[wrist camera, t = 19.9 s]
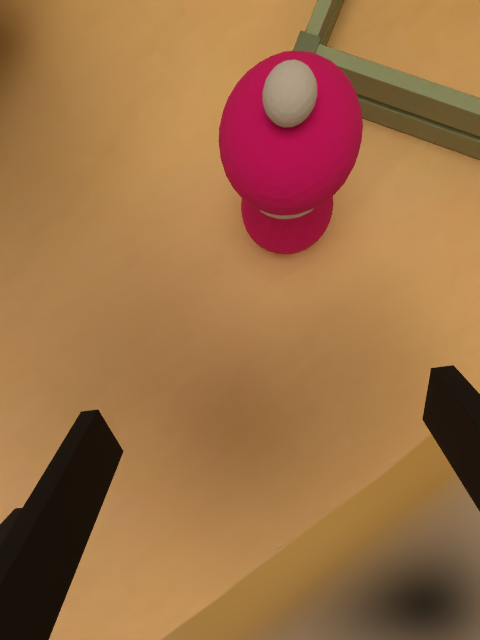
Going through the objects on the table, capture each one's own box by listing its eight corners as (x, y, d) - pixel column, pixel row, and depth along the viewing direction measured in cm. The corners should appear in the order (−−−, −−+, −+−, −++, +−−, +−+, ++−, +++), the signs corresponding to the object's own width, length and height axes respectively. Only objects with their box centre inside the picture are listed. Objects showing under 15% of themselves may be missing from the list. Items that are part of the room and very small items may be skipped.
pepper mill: (266, 270, 29) (231, 242, 10) (235, 202, 29) (136, 30, 10) (337, 237, 28) (460, 129, 9) (306, 165, 28) (359, -121, 8)
